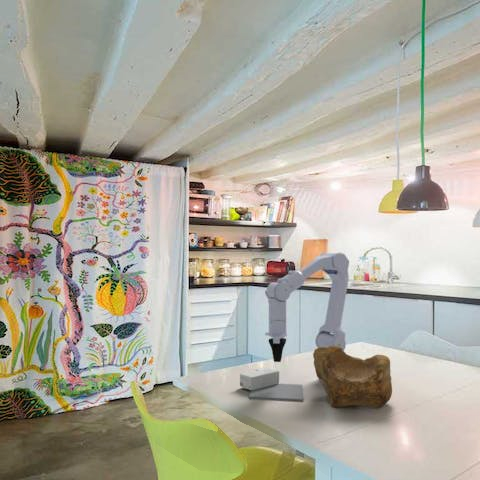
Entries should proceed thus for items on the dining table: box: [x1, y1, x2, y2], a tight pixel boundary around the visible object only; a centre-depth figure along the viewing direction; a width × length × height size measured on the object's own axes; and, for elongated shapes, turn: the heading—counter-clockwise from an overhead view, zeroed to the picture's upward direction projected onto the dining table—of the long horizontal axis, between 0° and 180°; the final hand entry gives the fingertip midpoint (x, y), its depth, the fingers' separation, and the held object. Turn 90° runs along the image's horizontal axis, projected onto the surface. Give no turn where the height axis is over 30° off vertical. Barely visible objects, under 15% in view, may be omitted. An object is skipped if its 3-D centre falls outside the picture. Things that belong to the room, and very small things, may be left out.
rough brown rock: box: [312, 346, 393, 409], centre depth 119 cm, size 23×17×15 cm
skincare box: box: [239, 367, 280, 391], centre depth 133 cm, size 6×4×12 cm
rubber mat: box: [248, 383, 304, 402], centre depth 128 cm, size 16×14×1 cm
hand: (277, 361), depth 133 cm, fingers closed
